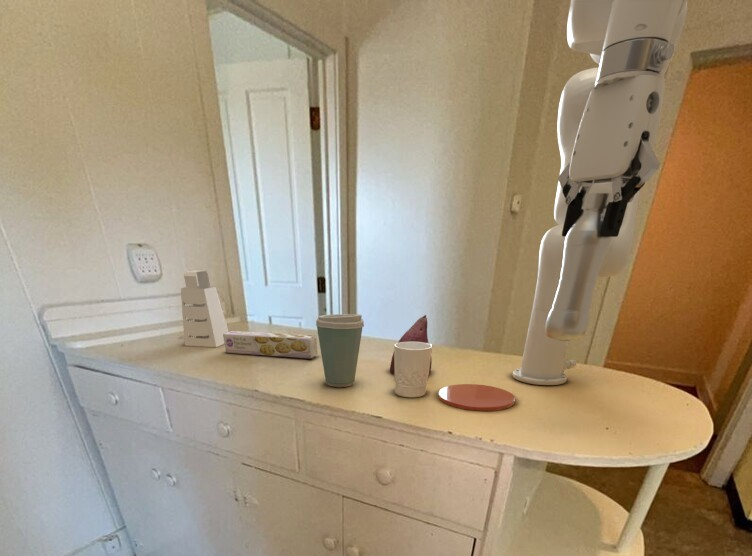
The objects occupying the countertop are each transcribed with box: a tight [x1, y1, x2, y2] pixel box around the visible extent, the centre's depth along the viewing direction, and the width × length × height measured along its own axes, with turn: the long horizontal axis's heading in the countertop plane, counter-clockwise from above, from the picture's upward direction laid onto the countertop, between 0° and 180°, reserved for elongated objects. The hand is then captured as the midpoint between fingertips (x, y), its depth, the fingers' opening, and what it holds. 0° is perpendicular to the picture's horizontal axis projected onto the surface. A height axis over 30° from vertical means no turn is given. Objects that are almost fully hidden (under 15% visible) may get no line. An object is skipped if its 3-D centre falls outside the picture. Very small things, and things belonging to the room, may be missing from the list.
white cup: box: [393, 342, 433, 398], centre depth 91 cm, size 8×8×10 cm
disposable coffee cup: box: [315, 313, 365, 388], centre depth 95 cm, size 11×11×15 cm
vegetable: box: [389, 314, 433, 375], centre depth 106 cm, size 10×10×15 cm
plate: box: [437, 383, 516, 412], centre depth 91 cm, size 16×16×1 cm
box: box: [223, 330, 319, 360], centre depth 121 cm, size 27×5×6 cm, turn 73°
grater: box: [180, 270, 230, 348], centre depth 130 cm, size 10×10×20 cm
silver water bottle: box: [545, 193, 612, 342], centre depth 67 cm, size 6×7×20 cm
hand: (588, 235), depth 64 cm, fingers closed on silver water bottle, 6 cm apart
